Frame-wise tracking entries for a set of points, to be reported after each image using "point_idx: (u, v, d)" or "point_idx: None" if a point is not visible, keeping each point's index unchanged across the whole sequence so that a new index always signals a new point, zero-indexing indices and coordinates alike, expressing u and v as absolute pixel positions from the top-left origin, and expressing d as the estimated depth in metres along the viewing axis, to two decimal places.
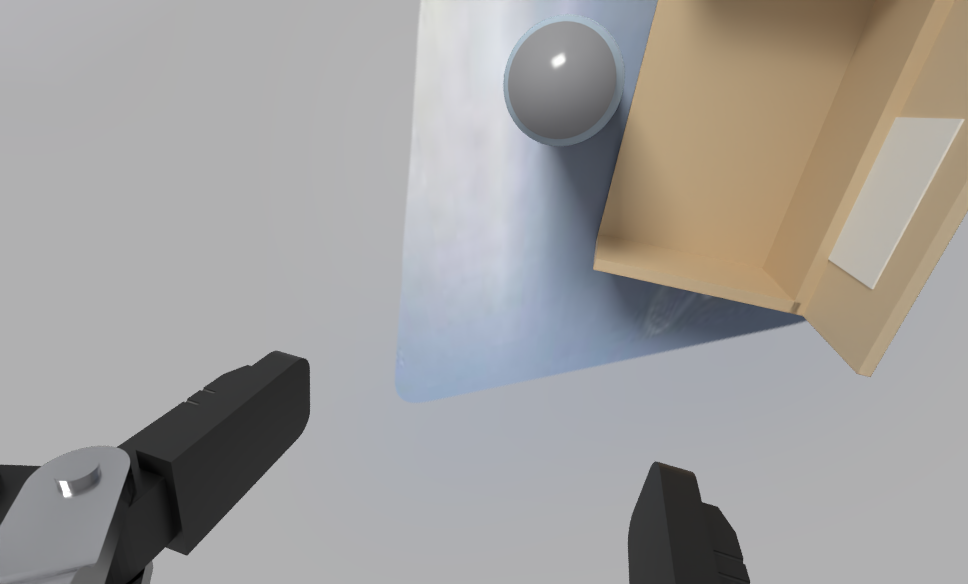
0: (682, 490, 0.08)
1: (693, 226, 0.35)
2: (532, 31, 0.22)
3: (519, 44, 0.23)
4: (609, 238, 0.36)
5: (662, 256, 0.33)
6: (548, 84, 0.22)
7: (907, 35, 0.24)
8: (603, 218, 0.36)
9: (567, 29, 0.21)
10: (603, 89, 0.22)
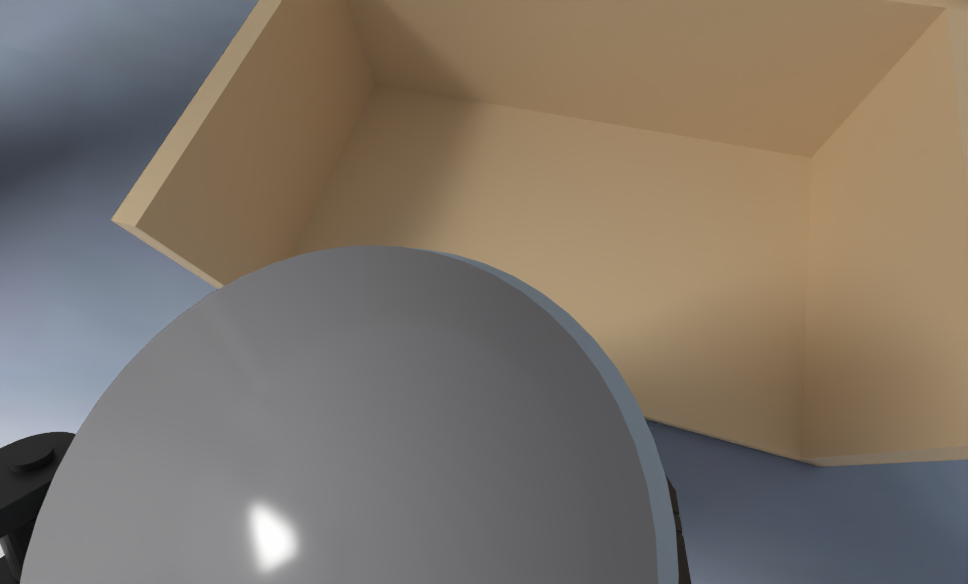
0: None
1: (748, 264, 0.18)
2: None
3: None
4: (812, 429, 0.15)
5: (853, 297, 0.14)
6: None
7: None
8: (757, 444, 0.15)
9: (96, 463, 0.04)
10: (416, 297, 0.04)
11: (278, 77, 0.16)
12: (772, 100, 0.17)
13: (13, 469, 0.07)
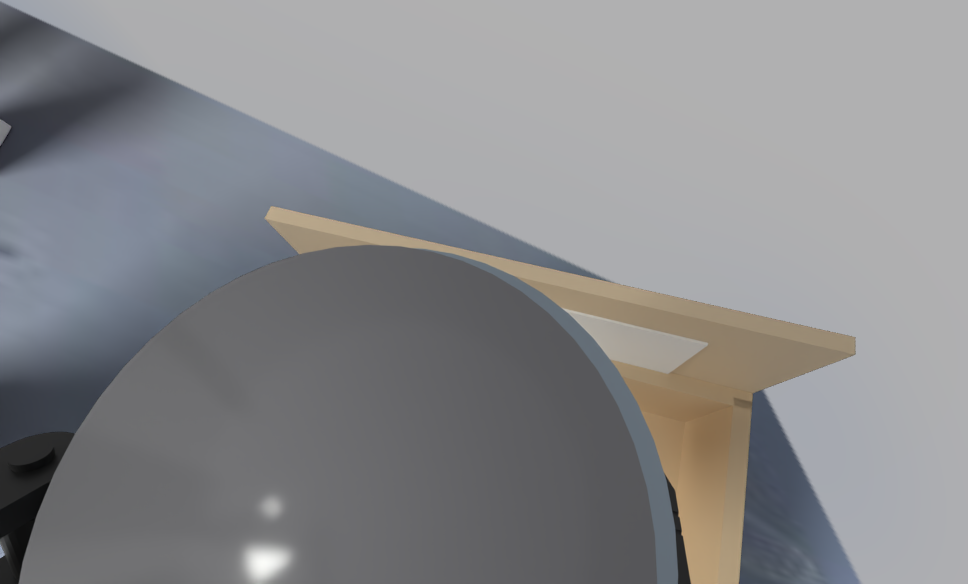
0: None
1: None
2: None
3: None
4: None
5: None
6: None
7: None
8: None
9: (95, 463, 0.04)
10: (415, 297, 0.04)
11: None
12: (648, 403, 0.25)
13: (14, 469, 0.07)
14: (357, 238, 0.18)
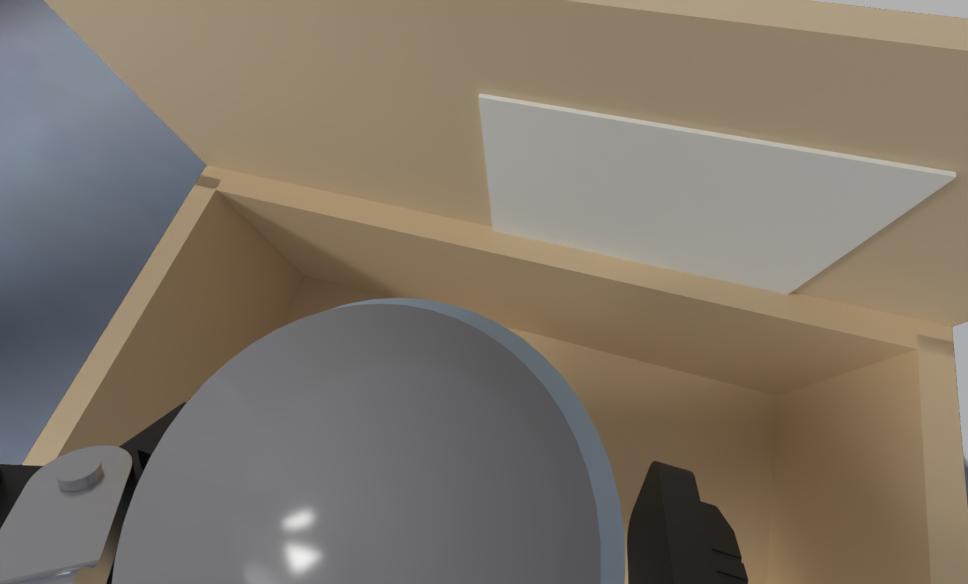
0: (681, 489, 0.08)
1: None
2: None
3: None
4: None
5: None
6: None
7: (373, 240, 0.15)
8: None
9: (167, 481, 0.05)
10: (417, 348, 0.06)
11: (161, 358, 0.14)
12: (728, 360, 0.15)
13: None
14: None
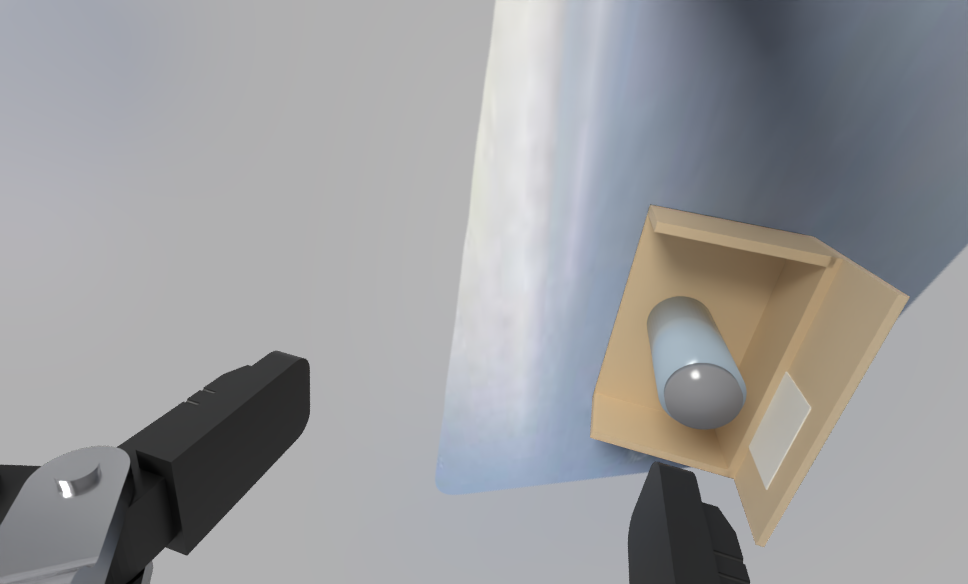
0: (682, 490, 0.08)
1: None
2: (683, 363, 0.33)
3: (673, 368, 0.34)
4: (602, 398, 0.49)
5: (640, 419, 0.47)
6: (694, 399, 0.33)
7: (791, 322, 0.37)
8: (598, 382, 0.49)
9: (712, 373, 0.32)
10: (733, 407, 0.33)
11: None
12: None
13: None
14: (865, 353, 0.28)
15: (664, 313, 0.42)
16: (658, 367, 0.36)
